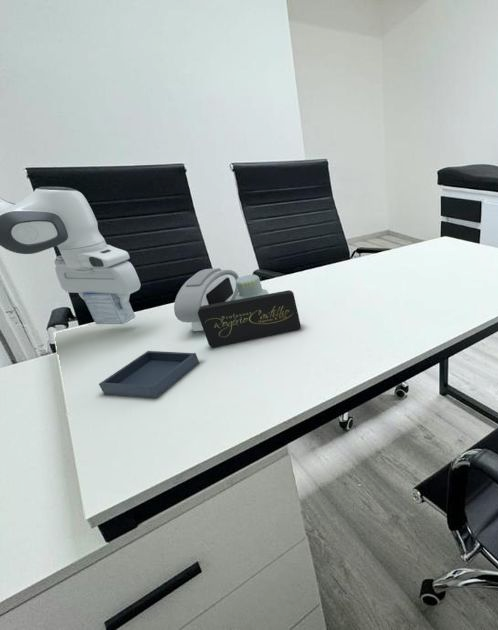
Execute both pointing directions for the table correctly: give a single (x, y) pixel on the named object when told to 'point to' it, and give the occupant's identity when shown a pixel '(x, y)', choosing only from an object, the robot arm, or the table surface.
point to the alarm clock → (204, 293)
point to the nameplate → (249, 318)
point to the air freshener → (249, 287)
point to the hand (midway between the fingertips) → (110, 307)
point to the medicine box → (107, 308)
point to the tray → (149, 374)
